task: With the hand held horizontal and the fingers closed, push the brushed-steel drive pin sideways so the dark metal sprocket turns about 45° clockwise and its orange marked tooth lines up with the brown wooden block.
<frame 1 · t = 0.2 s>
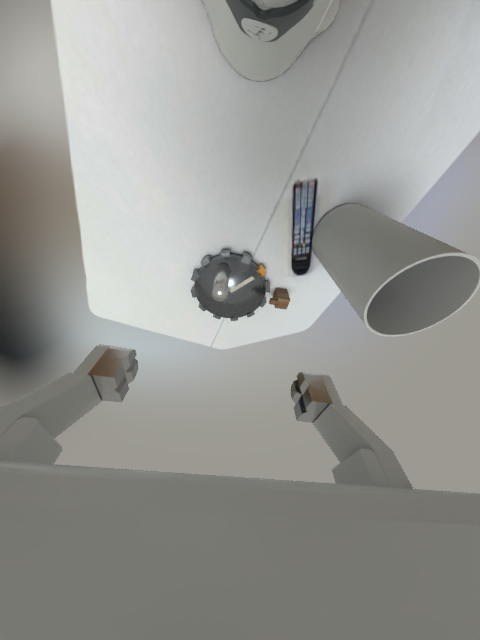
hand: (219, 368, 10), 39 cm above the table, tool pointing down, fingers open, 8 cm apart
cylinder vase: (339, 234, 43), on the table
brown wooden block: (279, 293, 53), on the table
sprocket: (229, 302, 46), point 7 cm above the table, hinge at 0.0°
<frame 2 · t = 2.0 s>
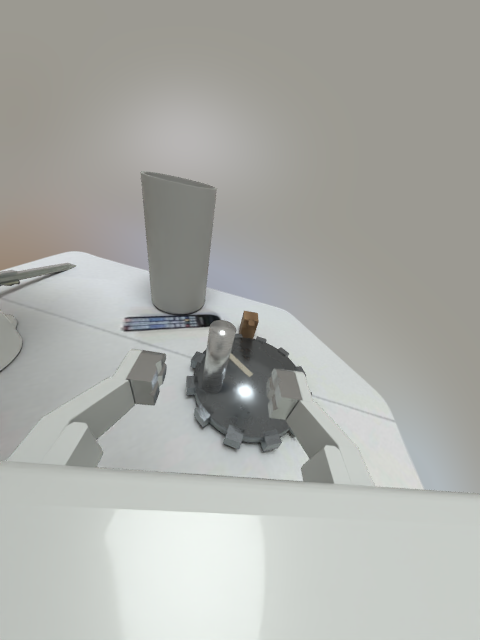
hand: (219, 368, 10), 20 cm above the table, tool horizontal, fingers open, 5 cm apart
cylinder vase: (179, 301, 48), on the table
brown wooden block: (245, 333, 44), on the table
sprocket: (258, 356, 28), point 7 cm above the table, hinge at 0.0°
caliper: (37, 283, 44), on the table
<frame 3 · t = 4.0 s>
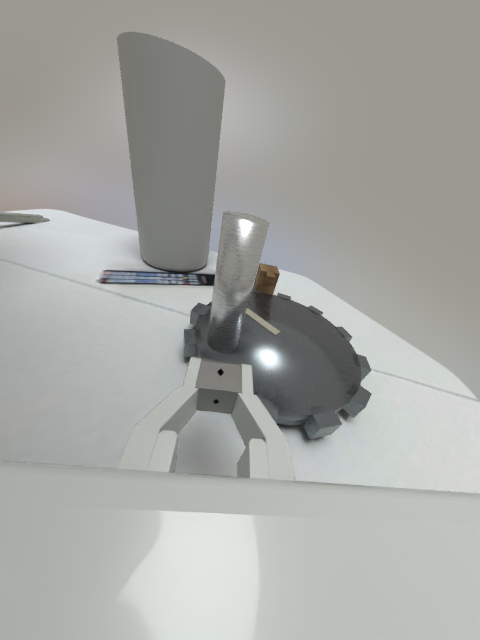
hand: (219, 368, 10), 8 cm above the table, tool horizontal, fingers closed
cylinder vase: (176, 260, 39), on the table
brown wooden block: (261, 295, 34), on the table
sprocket: (292, 298, 19), point 7 cm above the table, hinge at 0.0°
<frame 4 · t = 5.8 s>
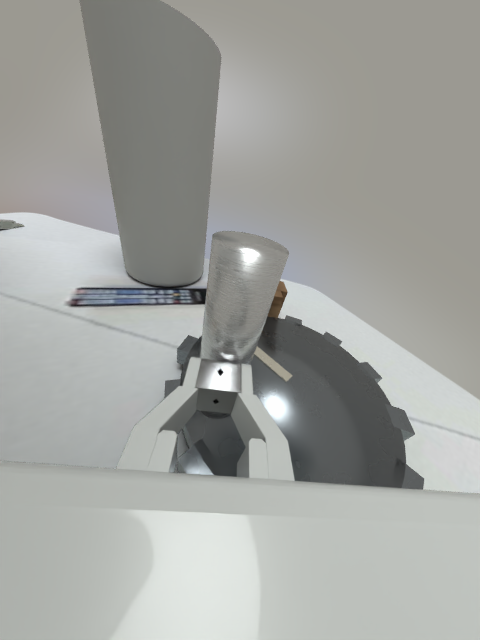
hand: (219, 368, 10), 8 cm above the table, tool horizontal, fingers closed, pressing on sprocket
cylinder vase: (166, 272, 34), on the table
brown wooden block: (264, 314, 29), on the table
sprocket: (311, 340, 14), point 7 cm above the table, hinge at 0.5°, touching gripper
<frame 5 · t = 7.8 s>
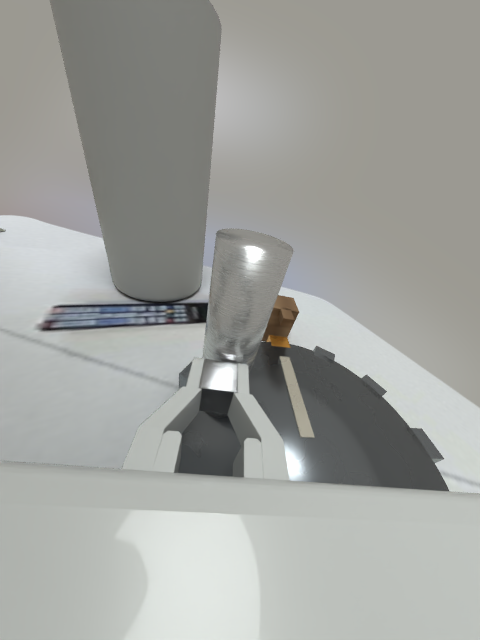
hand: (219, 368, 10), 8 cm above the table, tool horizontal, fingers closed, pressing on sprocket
cylinder vase: (160, 283, 30), on the table
brown wooden block: (271, 334, 25), on the table
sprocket: (342, 400, 10), point 7 cm above the table, hinge at 42.1°, touching gripper
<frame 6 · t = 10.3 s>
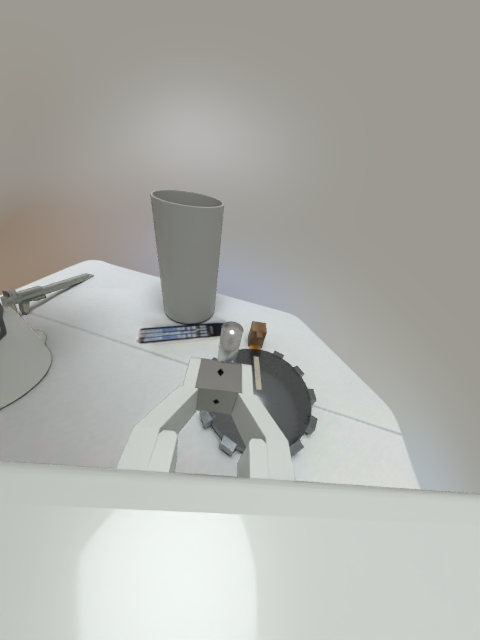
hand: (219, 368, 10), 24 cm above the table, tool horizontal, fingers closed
cylinder vase: (190, 309, 50), on the table
brown wooden block: (254, 342, 45), on the table
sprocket: (265, 374, 30), point 7 cm above the table, hinge at 42.2°
caliper: (61, 295, 47), on the table
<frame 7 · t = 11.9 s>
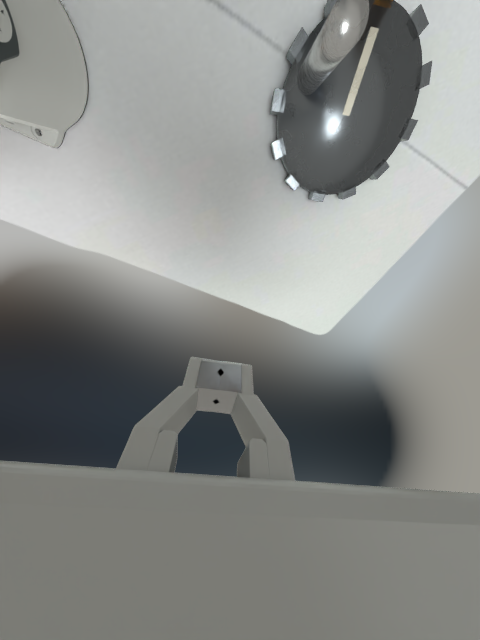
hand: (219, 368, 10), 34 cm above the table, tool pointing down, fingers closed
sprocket: (362, 105, 22), point 7 cm above the table, hinge at 42.2°
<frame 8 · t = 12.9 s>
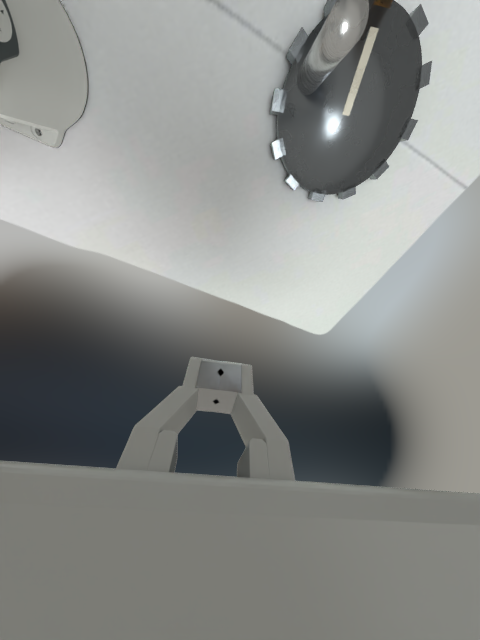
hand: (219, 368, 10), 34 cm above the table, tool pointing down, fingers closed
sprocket: (362, 105, 22), point 7 cm above the table, hinge at 42.2°
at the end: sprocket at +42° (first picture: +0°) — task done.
